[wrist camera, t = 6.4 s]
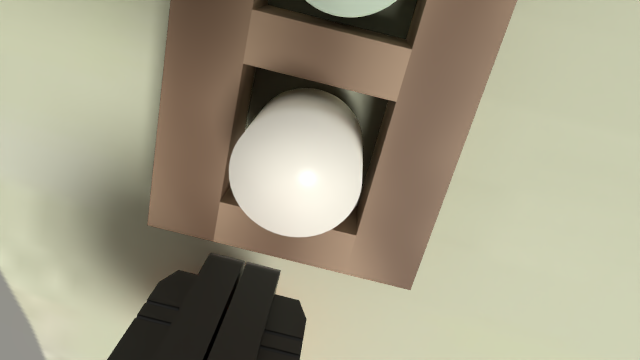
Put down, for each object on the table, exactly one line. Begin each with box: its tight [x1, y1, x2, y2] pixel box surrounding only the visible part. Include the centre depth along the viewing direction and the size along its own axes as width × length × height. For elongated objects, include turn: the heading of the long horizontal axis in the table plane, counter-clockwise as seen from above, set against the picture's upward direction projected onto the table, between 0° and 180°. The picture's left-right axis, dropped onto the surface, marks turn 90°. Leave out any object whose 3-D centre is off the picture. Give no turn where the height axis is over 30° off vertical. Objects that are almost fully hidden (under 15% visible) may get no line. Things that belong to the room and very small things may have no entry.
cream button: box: [229, 88, 363, 237], centre depth 20 cm, size 5×5×4 cm
